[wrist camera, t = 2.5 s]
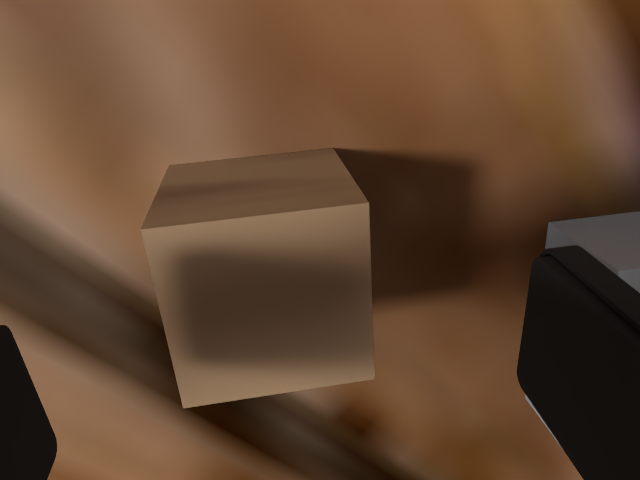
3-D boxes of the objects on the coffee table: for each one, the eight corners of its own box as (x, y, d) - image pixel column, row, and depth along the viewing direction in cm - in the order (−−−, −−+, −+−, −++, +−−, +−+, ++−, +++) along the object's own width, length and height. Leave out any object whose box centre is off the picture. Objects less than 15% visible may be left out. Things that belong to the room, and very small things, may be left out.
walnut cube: (340, 286, 18) (374, 379, 14) (197, 305, 18) (183, 408, 13) (332, 147, 16) (369, 202, 12) (169, 164, 16) (140, 229, 11)
